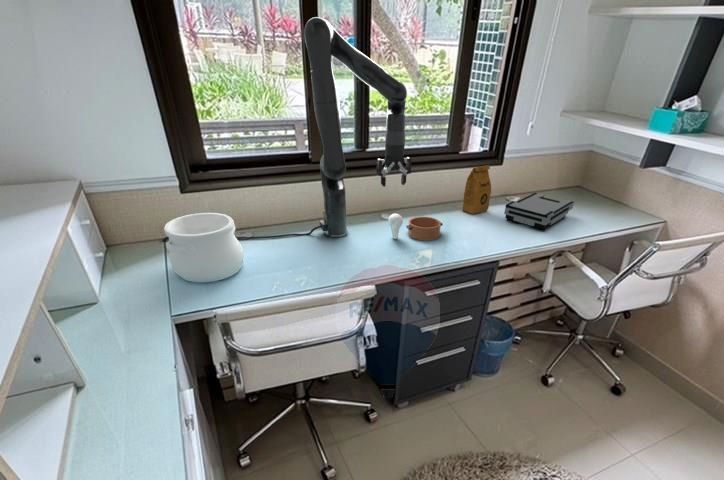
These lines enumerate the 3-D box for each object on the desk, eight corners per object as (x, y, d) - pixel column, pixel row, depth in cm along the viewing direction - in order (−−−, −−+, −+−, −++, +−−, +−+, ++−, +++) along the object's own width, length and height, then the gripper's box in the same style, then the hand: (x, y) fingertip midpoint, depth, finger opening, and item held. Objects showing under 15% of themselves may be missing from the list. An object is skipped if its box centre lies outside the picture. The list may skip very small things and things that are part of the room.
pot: (203, 294, 134) (188, 244, 124) (158, 274, 144) (141, 227, 134) (261, 265, 152) (253, 219, 142) (218, 249, 162) (207, 206, 152)
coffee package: (490, 212, 206) (498, 167, 193) (472, 216, 200) (479, 170, 187) (477, 206, 212) (484, 162, 199) (459, 210, 207) (465, 165, 194)
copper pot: (414, 242, 172) (414, 230, 169) (400, 230, 183) (401, 219, 179) (447, 237, 178) (448, 225, 174) (433, 226, 188) (434, 214, 185)
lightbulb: (392, 242, 172) (392, 217, 165) (385, 237, 176) (385, 212, 170) (404, 240, 174) (405, 215, 168) (397, 235, 179) (398, 210, 172)
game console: (570, 215, 204) (575, 199, 199) (543, 233, 185) (547, 215, 180) (531, 206, 215) (535, 190, 210) (502, 221, 196) (505, 204, 191)
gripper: (407, 139, 161) (405, 181, 170) (374, 141, 156) (373, 184, 166) (415, 143, 155) (412, 186, 165) (381, 145, 151) (380, 189, 160)
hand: (393, 185), depth 165 cm, fingers open, 8 cm apart
